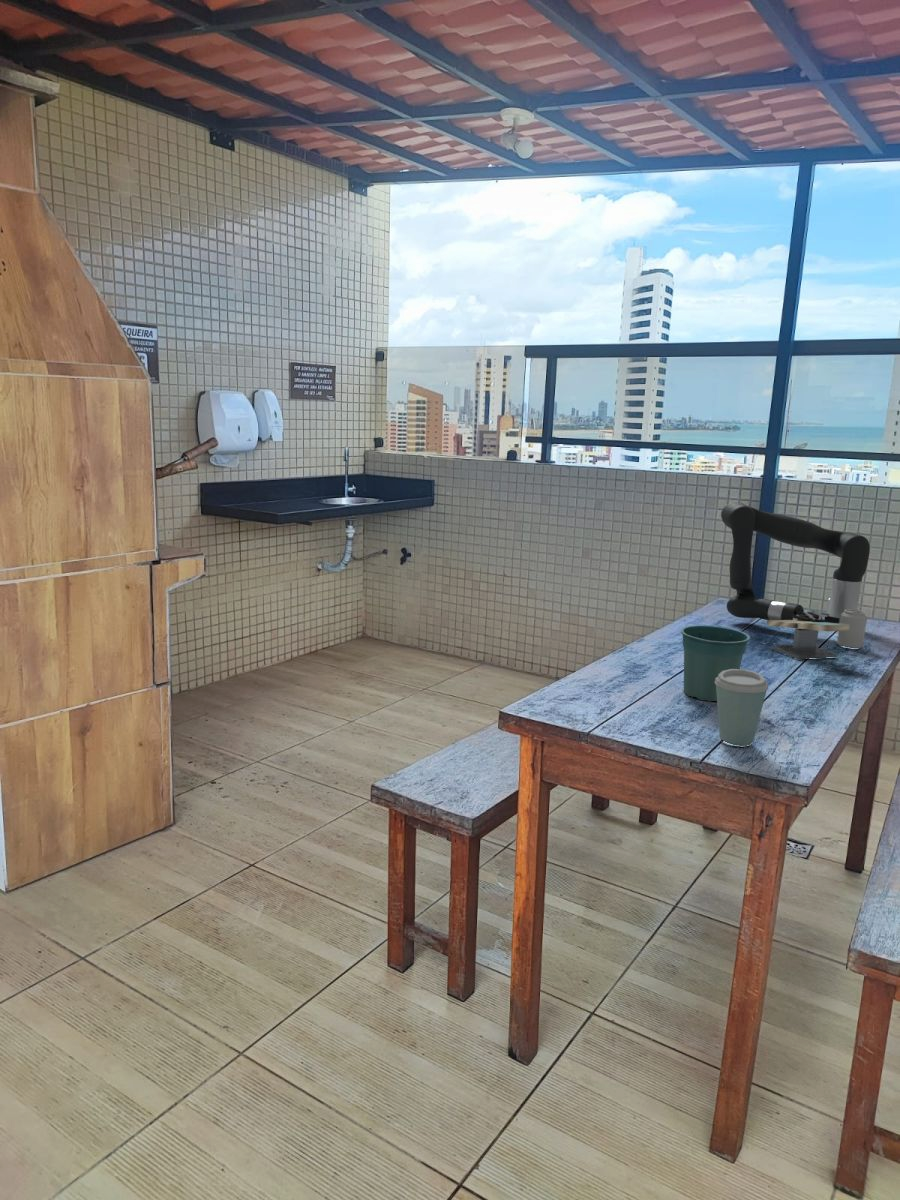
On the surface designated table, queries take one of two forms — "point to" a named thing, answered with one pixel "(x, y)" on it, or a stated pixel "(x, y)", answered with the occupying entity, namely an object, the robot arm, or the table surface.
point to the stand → (804, 646)
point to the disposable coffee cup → (739, 704)
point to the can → (852, 628)
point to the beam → (809, 625)
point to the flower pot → (710, 657)
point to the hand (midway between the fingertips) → (833, 623)
